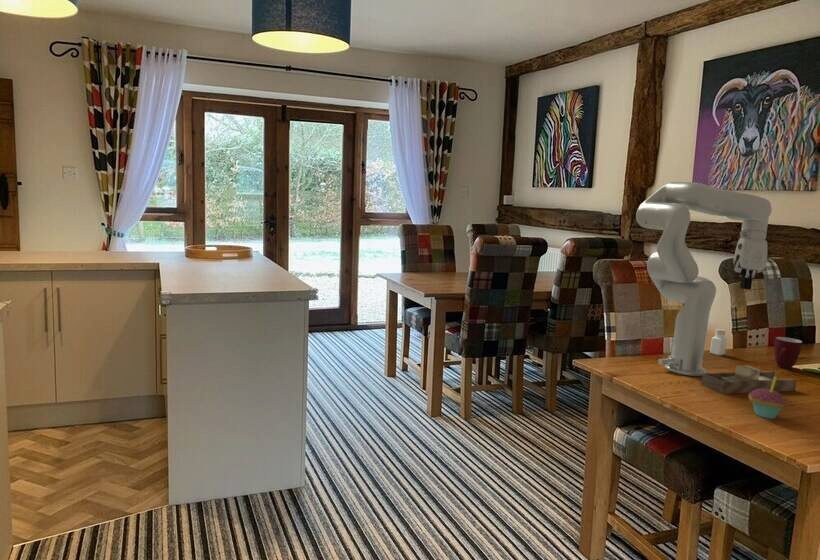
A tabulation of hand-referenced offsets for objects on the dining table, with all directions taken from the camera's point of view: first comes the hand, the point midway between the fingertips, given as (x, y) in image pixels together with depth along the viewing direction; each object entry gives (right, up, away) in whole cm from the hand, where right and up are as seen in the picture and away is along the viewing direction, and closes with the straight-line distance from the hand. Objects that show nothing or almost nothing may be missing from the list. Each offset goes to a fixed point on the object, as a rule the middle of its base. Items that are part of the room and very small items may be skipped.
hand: (745, 288), depth 205 cm
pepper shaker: (-1, -25, +18) cm, 31 cm away
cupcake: (-21, -33, -46) cm, 60 cm away
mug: (+16, -28, +4) cm, 32 cm away
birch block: (-13, -28, -24) cm, 39 cm away
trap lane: (-12, -30, -22) cm, 39 cm away
